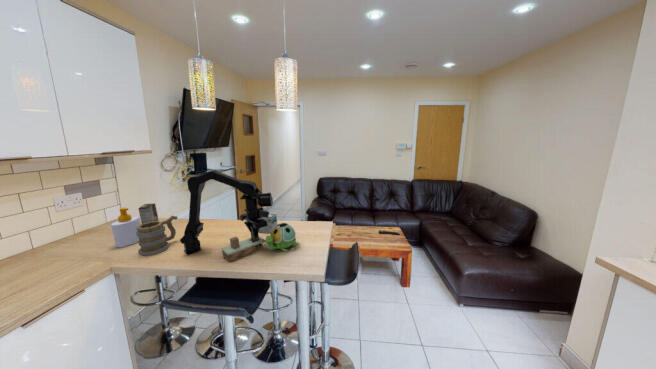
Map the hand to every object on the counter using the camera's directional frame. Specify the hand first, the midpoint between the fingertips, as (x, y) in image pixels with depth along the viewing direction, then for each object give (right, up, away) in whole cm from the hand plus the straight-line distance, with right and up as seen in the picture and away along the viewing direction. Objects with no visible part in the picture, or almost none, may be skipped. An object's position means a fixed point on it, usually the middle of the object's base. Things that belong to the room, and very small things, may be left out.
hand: (254, 235), depth 124 cm
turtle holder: (+14, -6, +1) cm, 15 cm away
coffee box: (-75, -3, +30) cm, 81 cm away
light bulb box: (+1, -2, +23) cm, 23 cm away
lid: (-4, -4, -3) cm, 7 cm away
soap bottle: (-74, -7, +12) cm, 75 cm away
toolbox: (-4, -7, -3) cm, 9 cm away
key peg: (0, -5, +1) cm, 5 cm away
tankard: (-52, -7, +6) cm, 53 cm away
